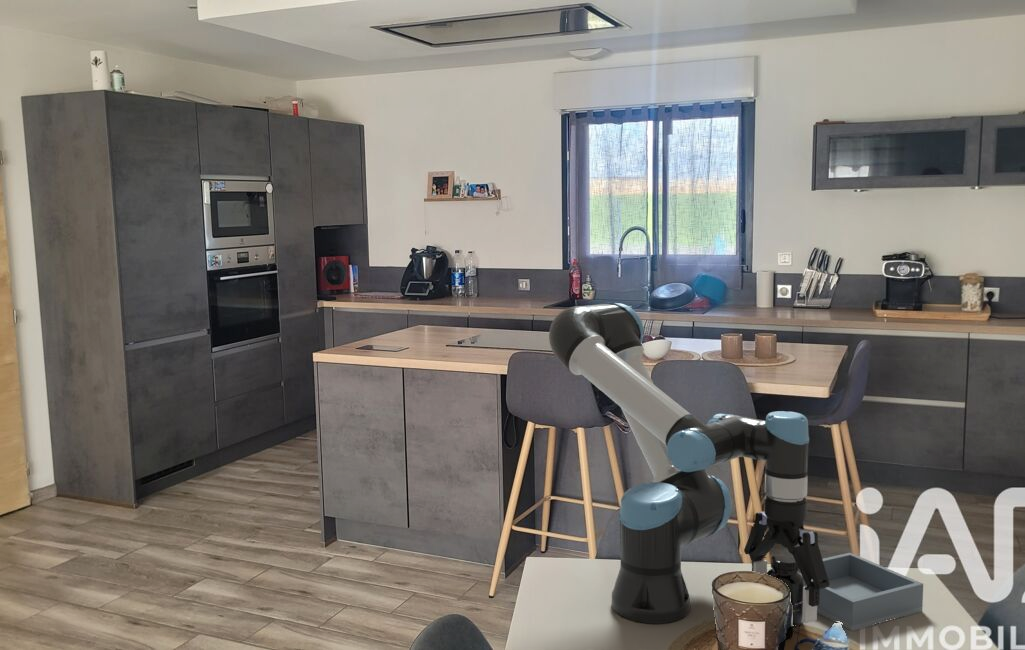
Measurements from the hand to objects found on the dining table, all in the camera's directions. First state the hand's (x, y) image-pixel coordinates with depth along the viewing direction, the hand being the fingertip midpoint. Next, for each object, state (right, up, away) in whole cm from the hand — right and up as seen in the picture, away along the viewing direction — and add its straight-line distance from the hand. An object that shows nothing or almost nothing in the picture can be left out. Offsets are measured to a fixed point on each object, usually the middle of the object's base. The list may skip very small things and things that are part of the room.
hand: (783, 607), depth 160 cm
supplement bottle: (0, -3, 0) cm, 3 cm away
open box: (+15, -2, +7) cm, 17 cm away
